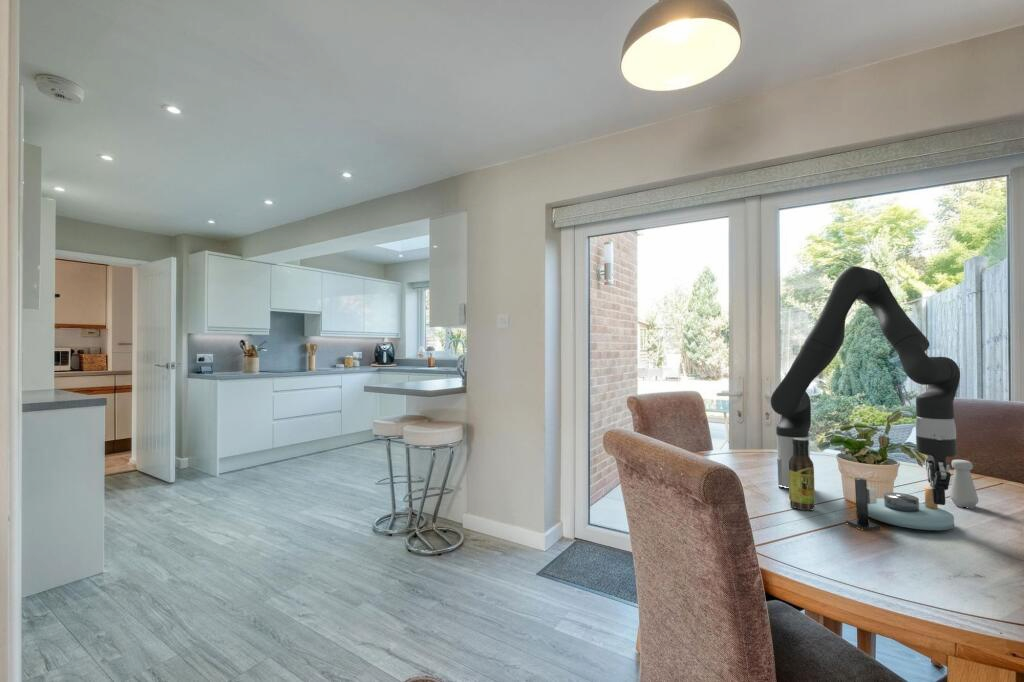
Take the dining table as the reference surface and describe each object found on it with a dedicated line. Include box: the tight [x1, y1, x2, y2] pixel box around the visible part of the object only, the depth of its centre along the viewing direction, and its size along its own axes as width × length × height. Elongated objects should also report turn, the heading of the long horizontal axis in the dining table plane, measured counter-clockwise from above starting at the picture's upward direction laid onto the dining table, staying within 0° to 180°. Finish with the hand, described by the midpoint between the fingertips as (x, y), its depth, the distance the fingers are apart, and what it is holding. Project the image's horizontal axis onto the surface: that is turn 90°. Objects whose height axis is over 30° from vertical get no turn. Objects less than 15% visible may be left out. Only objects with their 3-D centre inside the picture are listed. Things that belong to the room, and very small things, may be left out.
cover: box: [883, 492, 920, 512], centre depth 120 cm, size 7×7×3 cm
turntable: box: [868, 486, 955, 531], centre depth 119 cm, size 18×18×7 cm
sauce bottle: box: [788, 438, 816, 511], centre depth 131 cm, size 6×6×20 cm
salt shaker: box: [949, 459, 979, 509], centre depth 129 cm, size 6×6×13 cm
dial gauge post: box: [845, 477, 882, 531], centre depth 116 cm, size 6×5×12 cm
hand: (938, 503), depth 114 cm, fingers closed
